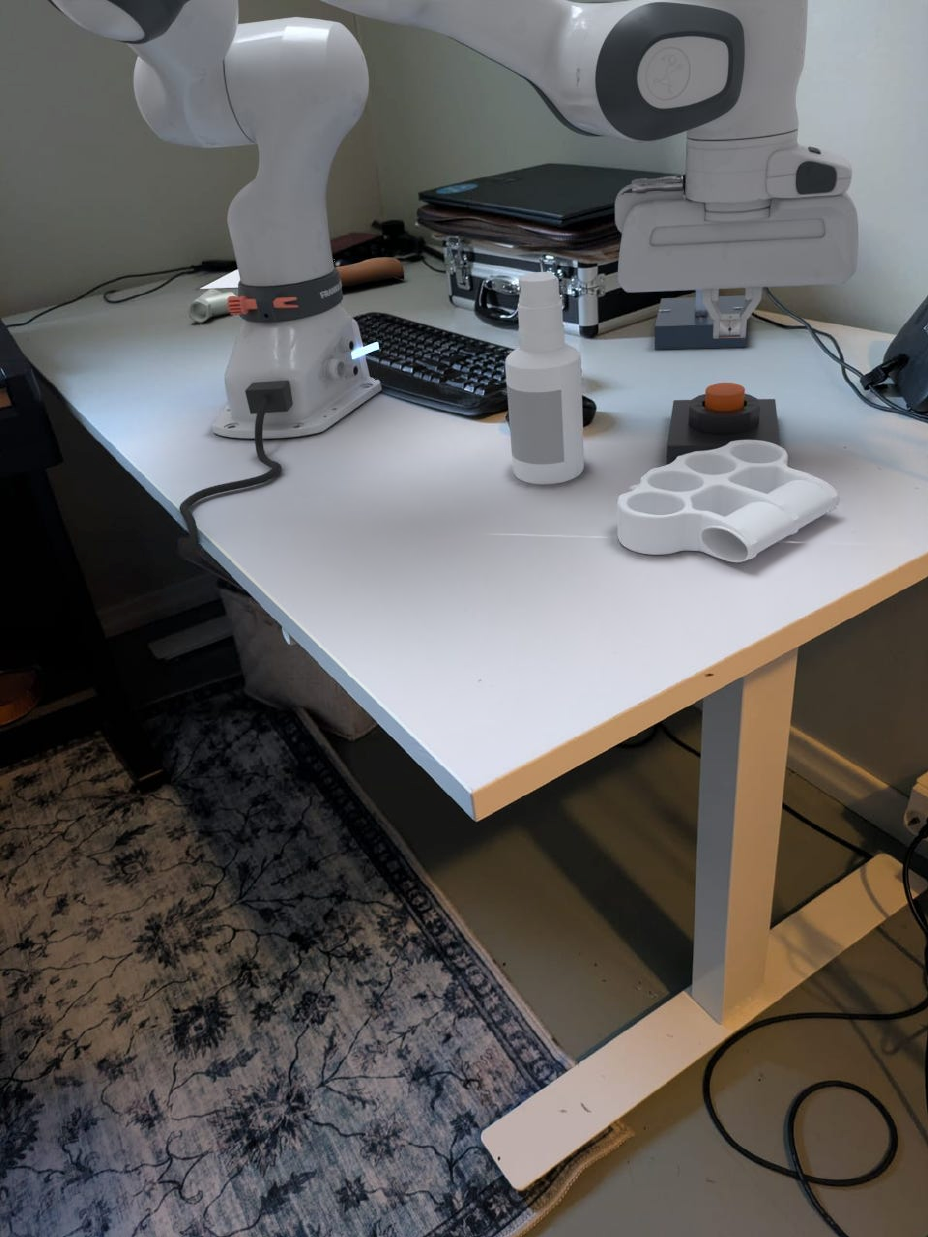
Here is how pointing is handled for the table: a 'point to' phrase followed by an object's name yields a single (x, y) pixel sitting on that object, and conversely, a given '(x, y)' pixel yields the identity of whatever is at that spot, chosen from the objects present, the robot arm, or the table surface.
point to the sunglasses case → (371, 271)
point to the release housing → (719, 425)
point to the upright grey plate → (700, 304)
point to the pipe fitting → (209, 305)
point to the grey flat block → (693, 324)
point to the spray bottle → (544, 388)
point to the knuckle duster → (721, 502)
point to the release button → (724, 397)
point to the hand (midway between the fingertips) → (729, 336)
